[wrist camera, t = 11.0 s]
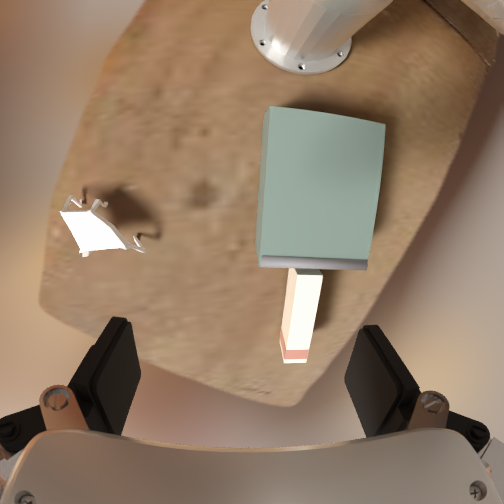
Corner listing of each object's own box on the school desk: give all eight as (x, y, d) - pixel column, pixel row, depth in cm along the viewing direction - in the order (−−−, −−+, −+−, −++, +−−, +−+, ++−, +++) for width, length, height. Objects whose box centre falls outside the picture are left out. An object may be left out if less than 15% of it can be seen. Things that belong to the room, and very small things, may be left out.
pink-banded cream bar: (289, 258, 37) (297, 274, 32) (313, 259, 37) (323, 275, 33) (279, 340, 42) (283, 363, 37) (299, 340, 42) (306, 362, 37)
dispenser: (263, 114, 32) (270, 105, 24) (358, 127, 33) (388, 124, 25) (255, 243, 37) (259, 268, 30) (344, 247, 38) (367, 272, 30)
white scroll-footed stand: (73, 246, 36) (56, 259, 32) (76, 189, 34) (57, 195, 29) (148, 264, 38) (137, 279, 33) (155, 203, 35) (144, 212, 30)
